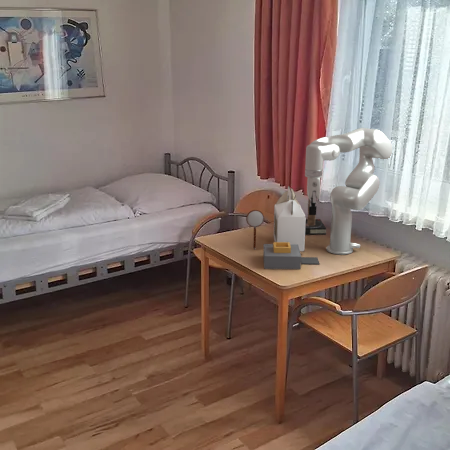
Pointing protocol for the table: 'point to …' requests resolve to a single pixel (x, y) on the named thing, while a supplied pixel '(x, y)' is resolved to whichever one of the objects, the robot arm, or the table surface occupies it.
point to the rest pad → (310, 260)
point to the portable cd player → (315, 228)
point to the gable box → (289, 220)
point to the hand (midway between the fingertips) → (311, 213)
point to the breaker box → (281, 256)
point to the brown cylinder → (310, 216)
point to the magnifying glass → (255, 221)
